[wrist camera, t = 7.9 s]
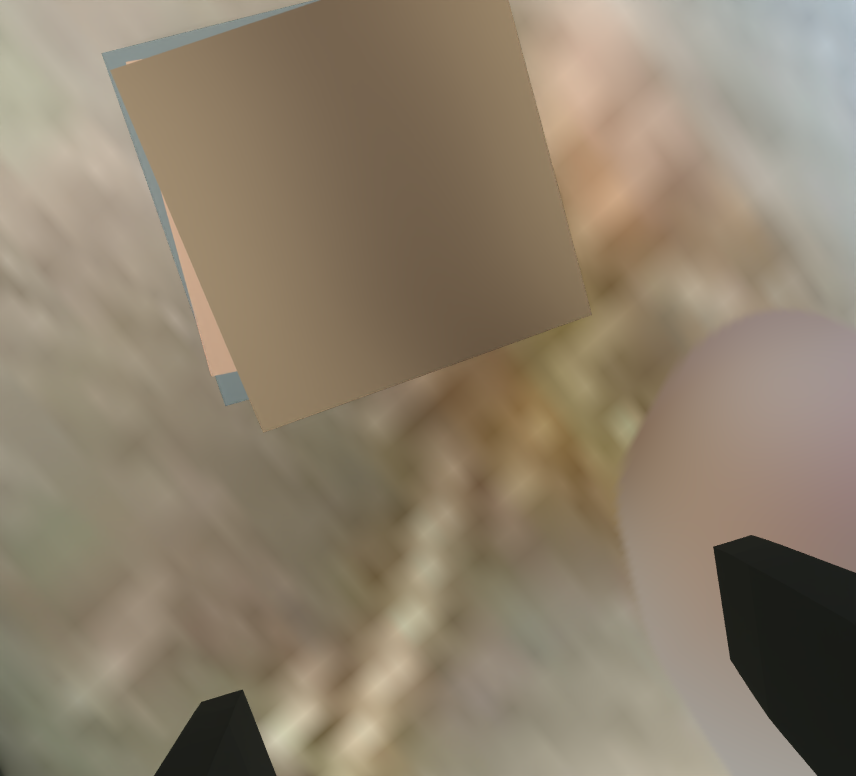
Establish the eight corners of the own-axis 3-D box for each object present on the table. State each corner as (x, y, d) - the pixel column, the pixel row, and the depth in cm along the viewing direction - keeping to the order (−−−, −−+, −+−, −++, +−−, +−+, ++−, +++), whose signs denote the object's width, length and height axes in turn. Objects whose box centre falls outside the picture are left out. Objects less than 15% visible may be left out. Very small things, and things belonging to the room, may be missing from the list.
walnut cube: (278, 354, 16) (263, 433, 11) (178, 105, 14) (110, 69, 9) (508, 272, 16) (592, 315, 11) (433, 19, 14) (493, -59, 10)
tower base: (236, 379, 21) (225, 405, 18) (129, 68, 18) (101, 53, 16) (518, 299, 21) (543, 316, 19) (450, -13, 19) (469, -39, 16)
